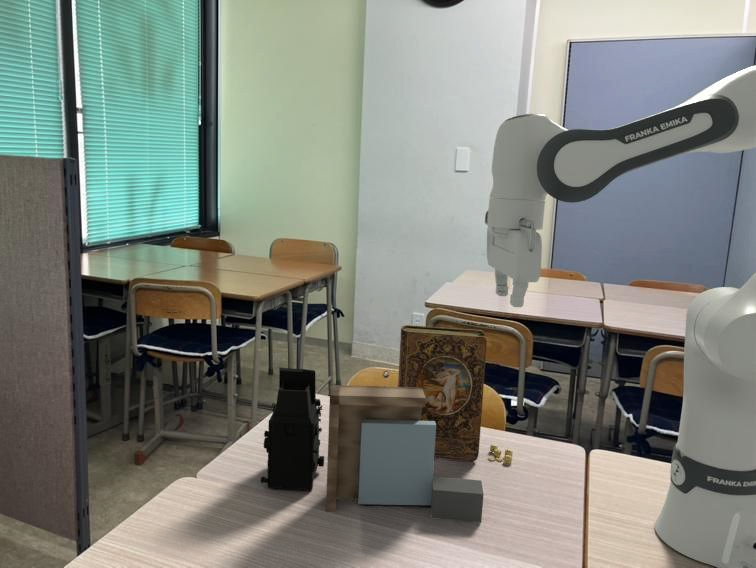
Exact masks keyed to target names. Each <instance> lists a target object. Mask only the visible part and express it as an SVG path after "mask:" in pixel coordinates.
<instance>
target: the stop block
mask: <svg viewBox="0 0 756 568" xmlns="http://www.w3.org/2000/svg"><path fill="white" fill-rule="evenodd" d="M484 495H485V494H484V490H483V483H482V480H481V479H467V478H457V477H447V476H446V477H444V476H435V475H433V482H432V497H431V505H430V519H438V520H451V521H461V522H472V523H482V519H483V508H484V505H483V504H484Z"/></svg>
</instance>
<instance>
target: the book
mask: <svg viewBox="0 0 756 568" xmlns="http://www.w3.org/2000/svg"><path fill="white" fill-rule="evenodd" d="M486 356H487V338H486V336H485V332H484V331H483V330H481V329H472V328H471V329H470V328H469V329H468V328H467V329H466V328H455V327H454V328H453V327H439V326H425V325H424V326H423V325H409V324H408V325H407V324H406V325H403V326H401V329H400V343H399V358H398V359H399V360H398V361H399V362H398V376H397V377H398V378H397V379H398V380H397V381H398V383H397V387H417V388H422V389H423V392H424V395H425V398H426V400H425V407H422V409H421V421H435V423H436V436H435V451H434V459H436V460H437V459H438V460H439V459H440V460H446V461H447V460H449V461H450V460H451V461H458V460H459V461H462V462H463V461H465V462H475V461H477V459H478V457H479V452H480V442H481V441H480V440H481V427H482V413H483V412H482V411H483V398H484V396H483V395H484V386H485V370H486Z"/></svg>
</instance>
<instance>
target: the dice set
mask: <svg viewBox="0 0 756 568" xmlns="http://www.w3.org/2000/svg"><path fill="white" fill-rule="evenodd" d="M490 451H491V452H494V453H495V454H494V457H495V456H497V457H495V458H494V457H493V456H491V457H490V456H489V457H488V458H487V460H488V461H490V460H491V461H490V462H494V461H493V460H495V461H497V460H498V461H497V462H499V463H500V461H501V462H503V463H505V465H506V464H509V465H508V466H510V464H511V465H512V463H513V462H512V460H513V450H512V449H505V450H504V457H503V458H502V457H501V455H502V450H501V449H499V447H498V445H497V444H490V447H489V452H490ZM498 457H499V458H498ZM502 460H503V461H502Z"/></svg>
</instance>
